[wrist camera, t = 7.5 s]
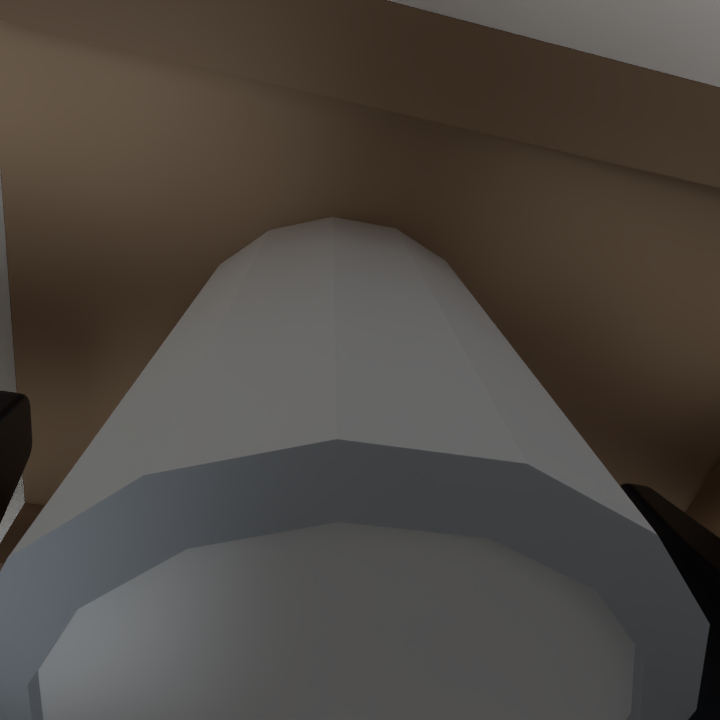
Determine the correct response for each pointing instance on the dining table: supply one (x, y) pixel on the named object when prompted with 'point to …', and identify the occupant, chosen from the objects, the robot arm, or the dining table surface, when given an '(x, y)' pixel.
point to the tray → (360, 203)
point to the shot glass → (342, 521)
